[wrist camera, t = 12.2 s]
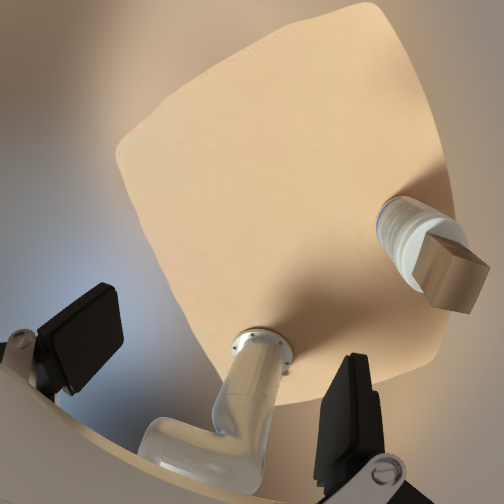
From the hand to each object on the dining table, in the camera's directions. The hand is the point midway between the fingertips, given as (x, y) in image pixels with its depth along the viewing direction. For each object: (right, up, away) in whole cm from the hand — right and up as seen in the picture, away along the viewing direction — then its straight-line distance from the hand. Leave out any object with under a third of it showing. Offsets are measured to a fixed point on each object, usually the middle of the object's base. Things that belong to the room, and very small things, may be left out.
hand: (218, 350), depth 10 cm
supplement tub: (+25, +8, +29) cm, 39 cm away
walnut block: (+22, +3, +15) cm, 27 cm away
